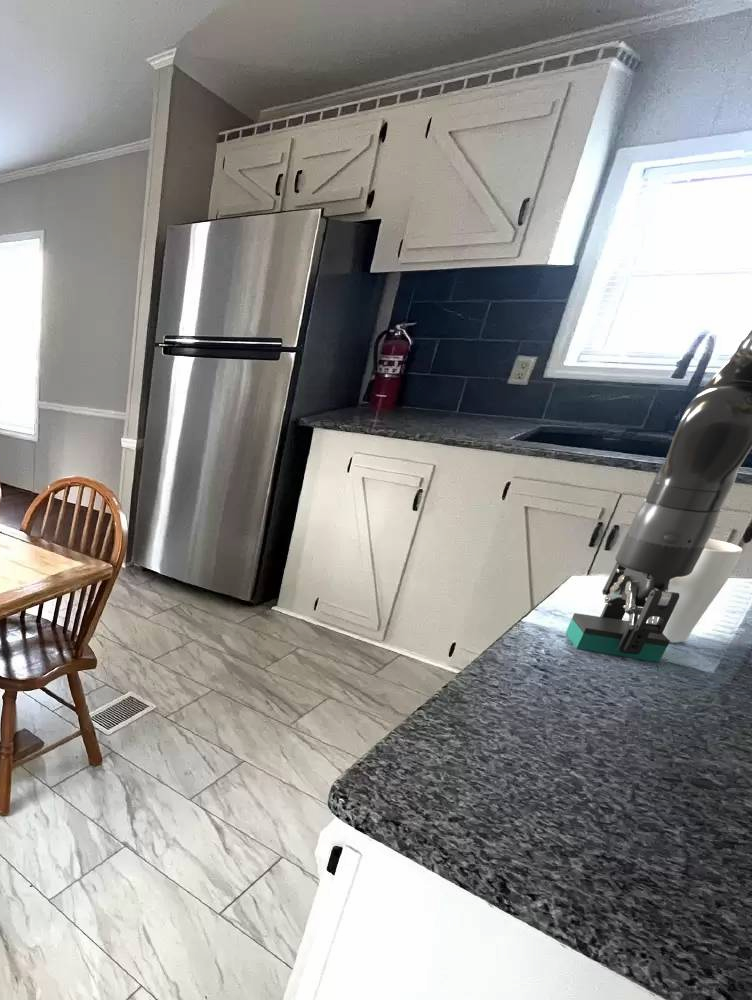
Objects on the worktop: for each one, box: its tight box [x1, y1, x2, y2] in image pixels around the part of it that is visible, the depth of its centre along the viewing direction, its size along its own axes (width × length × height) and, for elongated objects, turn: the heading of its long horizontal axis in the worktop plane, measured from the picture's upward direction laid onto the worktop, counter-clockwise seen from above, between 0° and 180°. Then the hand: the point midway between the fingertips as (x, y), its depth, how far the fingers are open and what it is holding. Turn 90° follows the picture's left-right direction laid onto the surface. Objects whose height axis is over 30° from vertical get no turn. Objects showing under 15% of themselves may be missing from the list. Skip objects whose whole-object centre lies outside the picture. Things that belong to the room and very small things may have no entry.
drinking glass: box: [646, 538, 744, 644], centre depth 93 cm, size 7×7×15 cm
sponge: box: [565, 612, 671, 663], centre depth 93 cm, size 9×6×4 cm, turn 62°
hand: (616, 639), depth 93 cm, fingers open, 8 cm apart
